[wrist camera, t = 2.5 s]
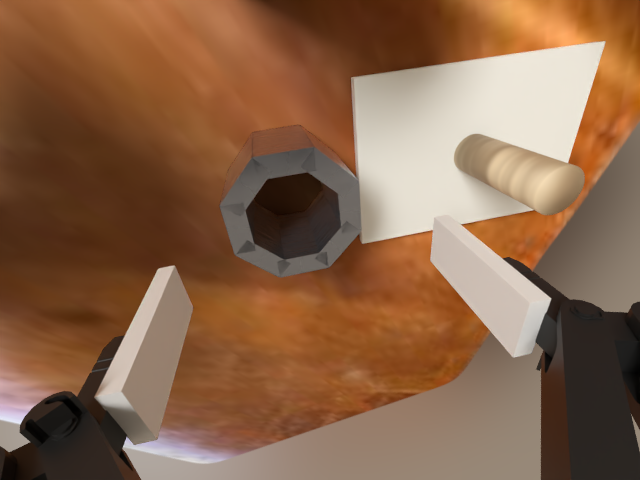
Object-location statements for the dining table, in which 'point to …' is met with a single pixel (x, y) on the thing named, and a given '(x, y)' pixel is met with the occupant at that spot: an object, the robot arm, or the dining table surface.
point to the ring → (295, 228)
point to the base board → (460, 132)
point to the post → (520, 173)
